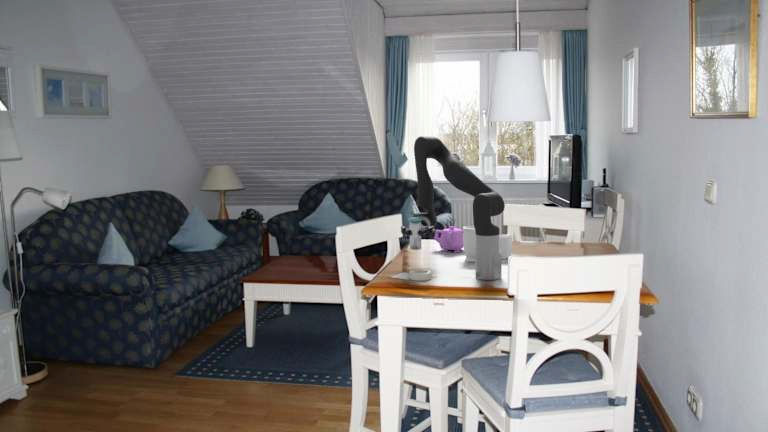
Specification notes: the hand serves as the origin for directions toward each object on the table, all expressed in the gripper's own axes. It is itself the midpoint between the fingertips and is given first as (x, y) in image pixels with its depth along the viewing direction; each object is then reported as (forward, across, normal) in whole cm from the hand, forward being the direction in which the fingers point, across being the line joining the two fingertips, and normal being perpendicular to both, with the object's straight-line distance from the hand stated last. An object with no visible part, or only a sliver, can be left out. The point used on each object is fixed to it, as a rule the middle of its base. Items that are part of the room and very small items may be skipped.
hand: (414, 233), depth 264 cm
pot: (-67, +9, +19) cm, 70 cm away
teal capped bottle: (-3, 0, +7) cm, 7 cm away
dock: (-3, -1, +19) cm, 19 cm away
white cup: (-50, +33, +19) cm, 63 cm away
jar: (-43, +21, +19) cm, 51 cm away
